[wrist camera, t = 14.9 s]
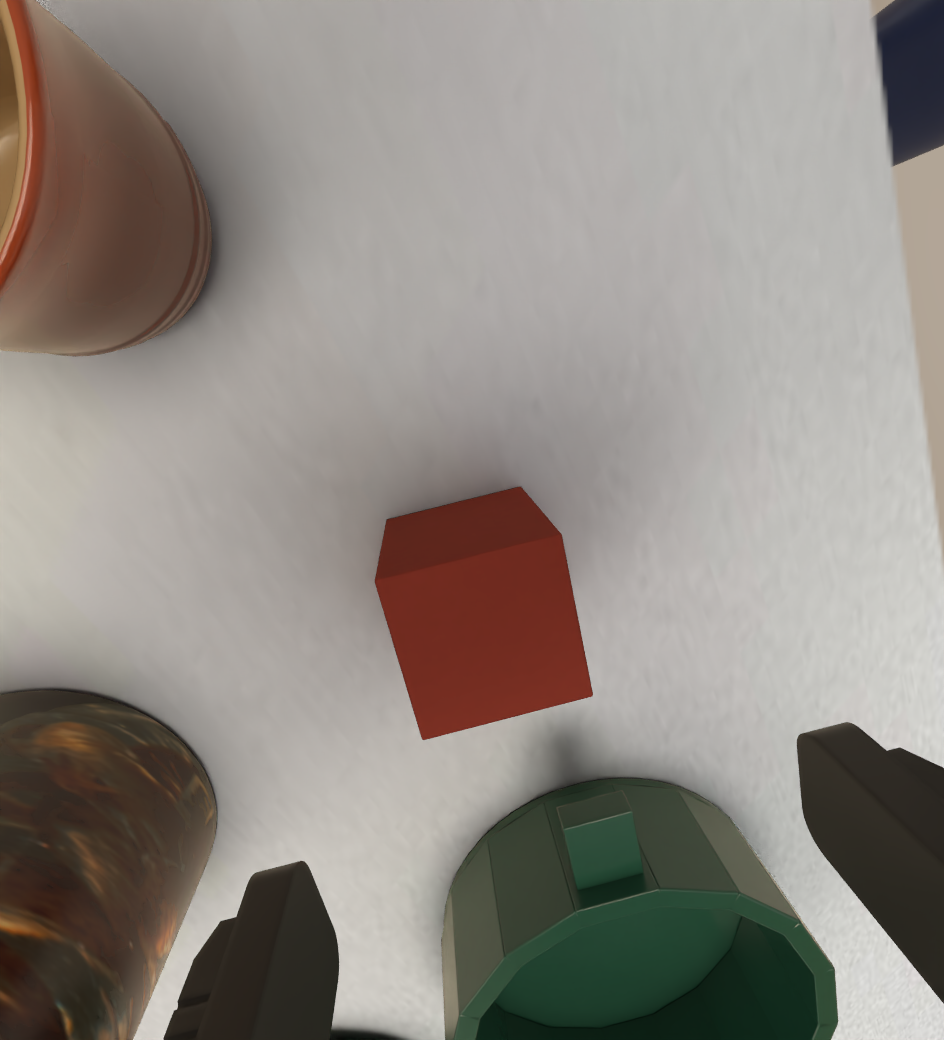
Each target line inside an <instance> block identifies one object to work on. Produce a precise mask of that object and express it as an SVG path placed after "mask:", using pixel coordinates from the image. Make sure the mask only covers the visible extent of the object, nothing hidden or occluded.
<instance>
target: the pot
mask: <svg viewBox="0 0 944 1040" xmlns="http://www.w3.org/2000/svg"><path fill="white" fill-rule="evenodd" d="M441 947H442V972H443V996H444V1021H445V1040H831V1038H832V1036H833V1034H834V1031H835V1029H836V1027H837V1024H838V1012H837V997H836V982H835V969H834V967H833V964H832V963H831V962H830V960H829V959H828V957H827V956H826V954H825V953H824V951H823V950H822V948H821V947H820V946H819V944H818V943H817V941H816V940H815V938H814V937H813V935H812V934H811V933H810V931H809V930H808V928H807V927H806V925H805V924H804V922H803V921H802V920H801V918H800V917H799V915H798V914H797V912H796V911H795V909H794V908H793V907H792V905H791V904H790V902H789V901H788V899H787V898H786V896H785V895H784V894H783V892H782V891H781V889H780V888H779V886H778V885H777V883H776V882H775V881H774V879H773V878H772V876H771V875H770V873H769V872H768V870H767V869H766V868H765V866H764V865H763V863H762V862H761V860H760V859H759V857H758V856H757V855H756V853H755V852H754V850H753V849H752V848H751V846H750V845H749V844H748V842H747V841H746V839H745V838H744V837H743V835H742V834H741V832H740V831H739V829H738V828H737V827H736V826H735V824H734V823H733V821H732V820H731V819H730V817H728V816H727V815H726V814H725V813H723V812H722V811H721V810H720V809H719V808H717V807H716V806H715V805H714V804H712V803H711V802H709V801H707V800H706V799H704V798H702V797H701V796H699V795H697V794H695V793H693V792H691V791H688V790H686V789H684V788H681V787H679V786H675V785H671V784H668V783H664V782H660V781H653V780H646V779H635V778H614V779H604V780H595V781H590V782H585V783H580V784H575V785H572V786H569V787H566V788H563V789H560V790H556V791H553V792H551V793H549V794H547V795H544V796H542V797H540V798H538V799H535V800H533V801H531V802H530V803H528V804H526V805H524V806H523V807H521V808H519V809H518V810H516V811H514V812H513V813H511V814H510V815H509V816H507V817H506V818H505V819H503V820H502V821H501V822H499V823H498V824H497V825H495V826H494V827H493V828H492V829H491V830H490V831H489V832H488V833H487V834H486V835H485V836H484V837H483V838H482V839H481V840H480V841H479V842H478V843H477V845H476V846H475V847H474V848H473V849H472V851H471V852H470V853H469V854H468V856H467V857H466V859H465V861H464V862H463V864H462V865H461V867H460V869H459V870H458V872H457V874H456V877H455V879H454V881H453V883H452V886H451V888H450V891H449V895H448V898H447V902H446V906H445V914H444V928H443V933H442V939H441Z"/></svg>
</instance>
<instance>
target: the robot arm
mask: <svg viewBox="0 0 944 1040" xmlns="http://www.w3.org/2000/svg"><path fill="white" fill-rule="evenodd" d="M797 752H798V764H799V776H800V787H801V799H802V809H803V814H804V818H805V821H806V824H807V827H808V829H809V831H810V833H811V835H812V837H813V839H814V841H815V843H816V844H817V846H818V848H819V849H820V851H821V852H822V853H823V855H824V856H825V857H826V859H827V860H828V861H829V862H830V863H831V865H832V866H833V867H834V868H835V870H836V871H837V872H838V873H839V875H840V876H841V877H842V878H843V880H844V881H845V882H846V883H847V884H848V886H849V887H850V888H851V889H852V891H853V892H854V893H855V894H856V896H857V897H858V898H859V899H860V901H861V902H862V903H863V904H864V906H865V907H866V908H867V909H868V910H869V912H870V913H871V914H872V915H873V917H874V918H875V919H876V920H877V922H878V923H879V924H880V925H881V927H882V928H883V929H884V930H885V932H886V933H887V934H888V935H889V936H890V938H891V939H892V940H893V941H894V943H895V944H896V945H897V946H898V948H899V949H900V950H901V951H902V953H903V954H904V955H905V956H906V957H907V959H908V960H909V961H910V962H911V964H912V965H913V966H914V967H915V969H916V970H917V971H918V972H919V974H920V975H921V976H922V977H923V979H924V980H925V981H926V982H927V983H928V985H929V986H930V987H931V988H932V990H933V991H934V992H935V993H936V995H937V996H938V997H939V998H940V1000H941V1001H942V1002H943V1003H944V768H943V767H940V766H938V765H936V764H934V763H932V762H930V761H928V760H925V759H923V758H921V757H919V756H917V755H915V754H913V753H910V752H908V751H906V750H904V749H902V748H896V749H892V750H888V751H886V750H885V749H884V748H883V747H882V746H880V745H879V744H878V743H877V742H876V741H874V740H873V739H872V738H871V737H870V736H868V735H867V734H866V733H865V732H864V731H863V730H861V729H860V728H859V727H857V726H856V725H854V724H852V723H849V722H845V723H841V724H837V725H834V726H830V727H826V728H822V729H818V730H814V731H810V732H806V733H803V734H800V735H799V736H798V739H797ZM338 975H339V953H338V944H337V938H336V934H335V930H334V928H333V925H332V923H331V920H330V918H329V915H328V913H327V910H326V908H325V905H324V903H323V900H322V898H321V896H320V893H319V891H318V888H317V886H316V883H315V881H314V878H313V876H312V873H311V871H310V869H309V867H308V865H307V864H306V863H305V862H304V861H299V862H295V863H291V864H288V865H284V866H280V867H276V868H272V869H268V870H264V871H260V872H257V873H255V874H253V876H252V877H251V878H250V880H249V882H248V885H247V887H246V890H245V893H244V896H243V899H242V902H241V905H240V908H239V911H238V914H237V917H235V918H231V919H228V920H224V921H221V922H220V923H219V924H218V926H217V927H216V929H215V930H214V932H213V933H212V934H211V936H210V937H209V939H208V940H207V942H206V943H205V944H204V946H203V947H202V949H201V950H200V952H199V953H198V954H197V956H196V957H195V959H194V960H193V963H192V966H191V968H190V971H189V973H188V976H187V979H186V981H185V984H184V986H183V989H182V992H181V994H180V997H179V999H178V1009H177V1010H174V1012H173V1015H172V1018H171V1020H170V1023H169V1025H168V1028H167V1031H166V1033H165V1036H164V1040H330V1034H331V1027H332V1020H333V1013H334V1005H335V998H336V991H337V984H338Z"/></svg>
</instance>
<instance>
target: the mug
mask: <svg viewBox="0 0 944 1040" xmlns="http://www.w3.org/2000/svg"><path fill="white" fill-rule="evenodd" d="M211 248H212V232H211V222H210V215H209V211H208V206H207V202H206V199H205V196H204V193H203V190H202V187H201V185H200V183H199V180H198V178H197V175H196V173H195V170H194V168H193V166H192V163H191V161H190V159H189V157H188V155H187V153H186V151H185V149H184V148H183V146H182V144H181V142H180V140H179V139H178V137H177V136H176V134H175V132H174V131H173V129H172V128H171V126H170V125H169V124H168V123H167V122H166V121H165V120H164V119H163V118H162V117H161V116H160V114H159V113H158V112H157V110H156V109H155V108H154V107H153V105H152V104H151V103H150V102H149V101H148V100H147V99H146V98H145V97H144V95H143V94H142V93H140V92H139V91H138V90H137V89H136V88H135V87H134V86H133V85H132V84H131V83H130V82H129V81H127V80H126V79H125V78H124V77H122V76H121V75H120V74H119V73H117V72H116V71H115V70H113V69H112V68H111V67H110V66H109V65H108V64H107V63H106V62H105V61H104V60H103V59H102V58H101V57H100V56H99V55H98V54H96V53H95V52H94V51H93V50H92V49H91V48H90V47H89V46H88V45H87V44H86V43H85V42H84V41H82V40H81V39H80V38H79V37H78V36H77V35H76V34H75V33H73V32H72V31H71V30H70V29H69V28H68V27H66V26H65V25H64V24H63V23H62V22H60V21H59V20H58V19H57V18H56V17H54V16H53V15H52V14H51V13H50V12H49V11H47V10H46V9H45V8H44V7H43V6H42V5H40V4H39V3H38V2H37V1H36V0H0V350H2V351H15V352H30V353H48V354H54V355H63V356H91V355H99V354H104V353H109V352H113V351H117V350H121V349H125V348H129V347H132V346H135V345H138V344H140V343H142V342H145V341H147V340H149V339H151V338H153V337H155V336H157V335H159V334H161V333H163V332H164V331H166V330H167V329H169V328H170V327H172V326H173V325H174V324H175V323H177V322H178V321H179V320H180V319H181V318H182V317H183V316H184V315H185V314H186V313H187V311H188V310H189V309H190V308H191V306H192V305H193V303H194V302H195V300H196V299H197V297H198V295H199V293H200V291H201V289H202V287H203V284H204V282H205V279H206V276H207V272H208V268H209V264H210V258H211Z"/></svg>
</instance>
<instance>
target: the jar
mask: <svg viewBox="0 0 944 1040" xmlns="http://www.w3.org/2000/svg"><path fill="white" fill-rule="evenodd" d="M216 825H217V812H216V803H215V798H214V794H213V791H212V787H211V785H210V782H209V780H208V777H207V775H206V774H205V772H204V770H203V768H202V766H201V765H200V763H199V762H198V760H197V759H196V757H195V756H194V755H193V754H192V752H191V751H190V750H189V749H188V748H187V747H186V746H185V744H184V743H183V742H182V741H181V740H180V739H179V738H177V737H176V736H175V735H174V734H173V733H172V732H170V731H169V730H168V729H166V728H165V727H164V726H162V725H161V724H159V723H158V722H156V721H155V720H153V719H151V718H150V717H148V716H147V715H145V714H143V713H141V712H139V711H137V710H135V709H132V708H130V707H128V706H125V705H123V704H120V703H117V702H114V701H111V700H108V699H105V698H101V697H97V696H93V695H88V694H83V693H77V692H68V691H54V690H36V691H23V692H15V693H9V694H3V695H0V1040H133V1038H134V1036H135V1033H136V1031H137V1029H138V1026H139V1024H140V1022H141V1019H142V1017H143V1015H144V1012H145V1010H146V1008H147V1005H148V1003H149V1000H150V998H151V996H152V993H153V991H154V989H155V986H156V984H157V982H158V979H159V977H160V974H161V972H162V970H163V967H164V965H165V963H166V960H167V958H168V956H169V953H170V951H171V948H172V946H173V944H174V941H175V939H176V936H177V934H178V932H179V929H180V927H181V924H182V922H183V920H184V917H185V915H186V912H187V910H188V908H189V905H190V903H191V900H192V898H193V895H194V893H195V891H196V888H197V886H198V883H199V881H200V878H201V876H202V873H203V871H204V869H205V866H206V864H207V861H208V858H209V856H210V853H211V850H212V846H213V843H214V839H215V833H216Z"/></svg>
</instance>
